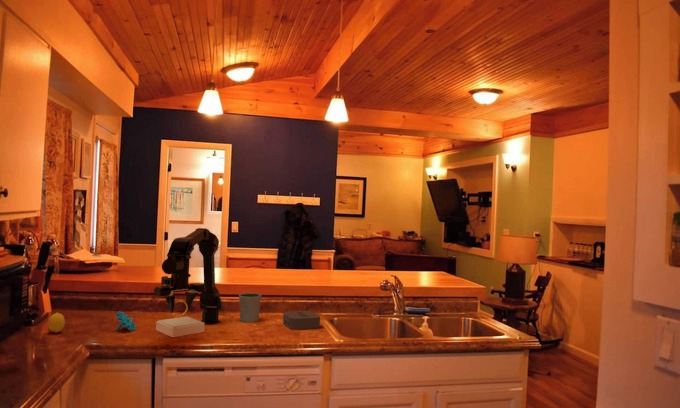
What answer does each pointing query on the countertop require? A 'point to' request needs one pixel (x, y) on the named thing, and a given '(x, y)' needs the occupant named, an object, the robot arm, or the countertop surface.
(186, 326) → the stand
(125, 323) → the teal lumpy piece
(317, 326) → the streaming box
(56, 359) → the countertop surface
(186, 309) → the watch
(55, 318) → the lemon
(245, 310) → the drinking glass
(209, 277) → the robot arm
